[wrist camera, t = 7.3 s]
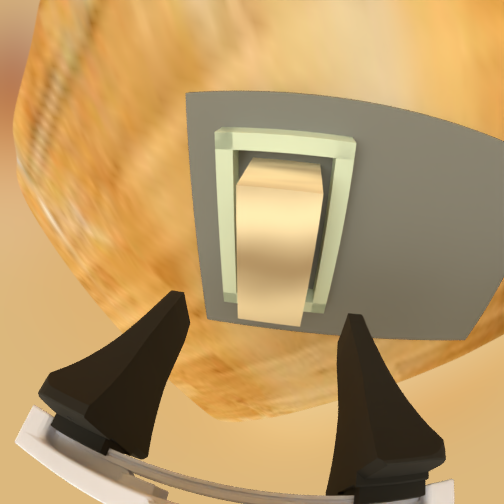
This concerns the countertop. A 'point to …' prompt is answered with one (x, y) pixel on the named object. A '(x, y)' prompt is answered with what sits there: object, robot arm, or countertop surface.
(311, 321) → the rubber mat
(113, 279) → the countertop surface
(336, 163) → the sage frame
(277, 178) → the birch block
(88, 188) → the countertop surface
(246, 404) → the countertop surface
